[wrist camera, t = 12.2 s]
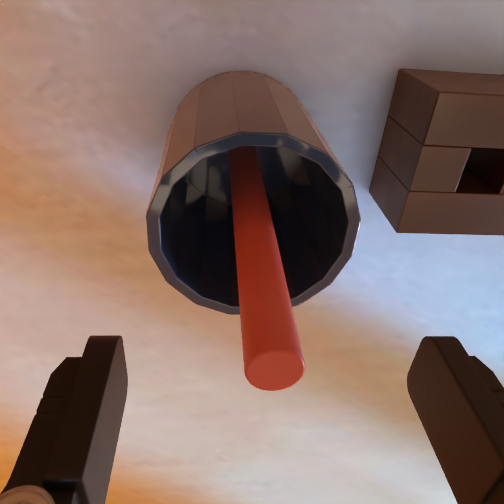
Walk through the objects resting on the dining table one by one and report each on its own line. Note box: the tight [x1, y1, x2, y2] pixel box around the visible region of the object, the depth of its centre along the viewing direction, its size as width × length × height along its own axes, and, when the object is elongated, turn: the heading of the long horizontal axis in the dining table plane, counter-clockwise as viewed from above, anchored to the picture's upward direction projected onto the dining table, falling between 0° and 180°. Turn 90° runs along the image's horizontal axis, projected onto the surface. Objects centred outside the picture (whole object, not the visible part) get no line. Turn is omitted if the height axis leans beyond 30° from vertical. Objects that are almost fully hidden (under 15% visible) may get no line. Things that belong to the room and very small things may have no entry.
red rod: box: [228, 146, 305, 391], centre depth 18 cm, size 2×2×16 cm
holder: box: [369, 69, 504, 235], centre depth 23 cm, size 7×7×5 cm
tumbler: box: [146, 71, 361, 315], centre depth 21 cm, size 8×8×10 cm
